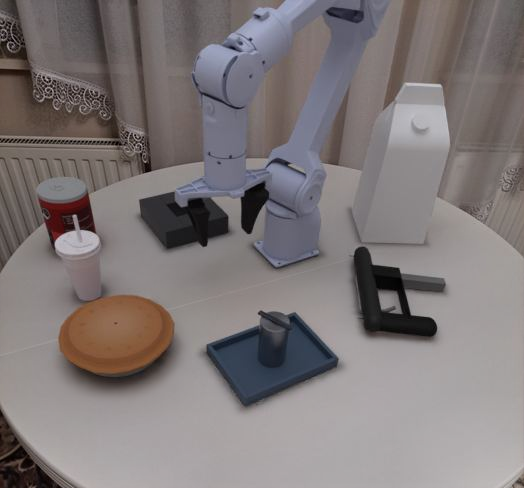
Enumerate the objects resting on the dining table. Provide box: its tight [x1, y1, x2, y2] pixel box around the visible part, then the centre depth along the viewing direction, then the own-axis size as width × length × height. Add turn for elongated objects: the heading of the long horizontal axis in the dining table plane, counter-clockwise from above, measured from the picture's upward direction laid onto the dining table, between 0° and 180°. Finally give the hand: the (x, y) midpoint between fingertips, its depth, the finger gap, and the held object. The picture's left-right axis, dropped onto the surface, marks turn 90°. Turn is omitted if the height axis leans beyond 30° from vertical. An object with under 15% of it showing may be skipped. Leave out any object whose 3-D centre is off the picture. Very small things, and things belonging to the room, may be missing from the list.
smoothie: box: [54, 215, 103, 302], centre depth 76 cm, size 6×6×14 cm
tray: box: [205, 311, 340, 407], centre depth 72 cm, size 15×11×2 cm
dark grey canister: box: [257, 309, 293, 367], centre depth 70 cm, size 4×5×7 cm
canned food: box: [35, 176, 98, 252], centre depth 86 cm, size 8×8×11 cm
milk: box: [351, 82, 451, 245], centre depth 91 cm, size 12×12×26 cm
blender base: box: [138, 191, 229, 250], centre depth 95 cm, size 12×12×4 cm
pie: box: [57, 294, 175, 378], centre depth 71 cm, size 16×16×5 cm
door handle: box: [348, 245, 447, 338], centre depth 83 cm, size 3×20×16 cm
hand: (224, 237), depth 77 cm, fingers open, 7 cm apart
